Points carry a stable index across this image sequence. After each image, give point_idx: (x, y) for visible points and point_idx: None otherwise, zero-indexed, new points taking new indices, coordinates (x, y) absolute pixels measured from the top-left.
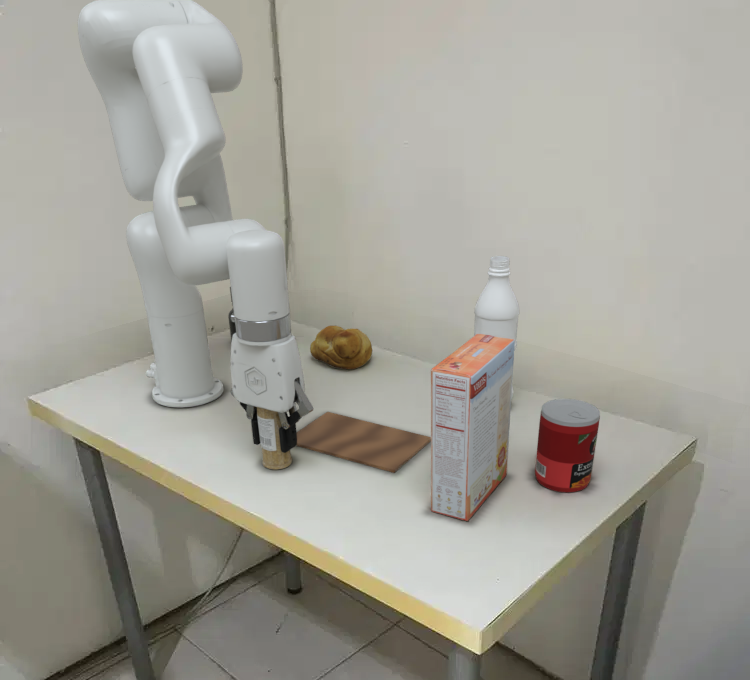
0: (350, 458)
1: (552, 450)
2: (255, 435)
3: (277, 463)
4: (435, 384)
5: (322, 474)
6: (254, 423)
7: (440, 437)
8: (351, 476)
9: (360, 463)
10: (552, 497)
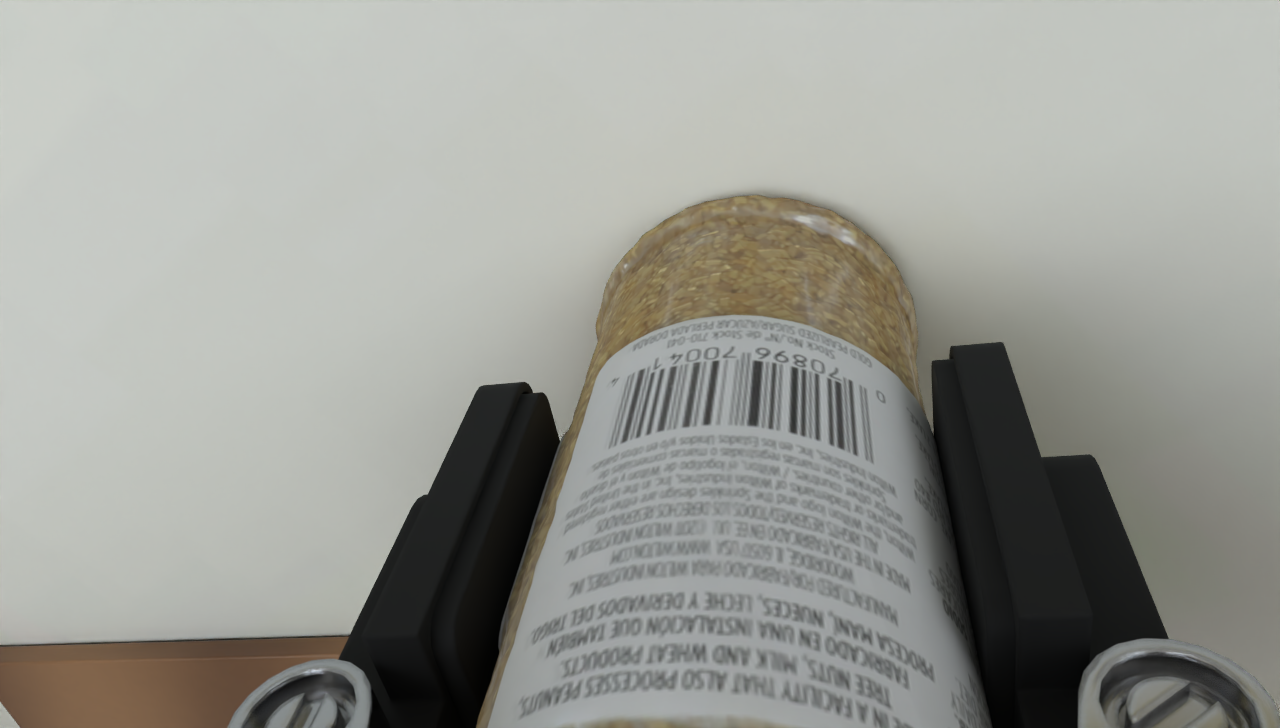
0: (308, 653)
1: None
2: (970, 432)
3: (633, 278)
4: None
5: (284, 403)
6: (1011, 594)
7: None
8: (113, 491)
9: (234, 640)
10: None
